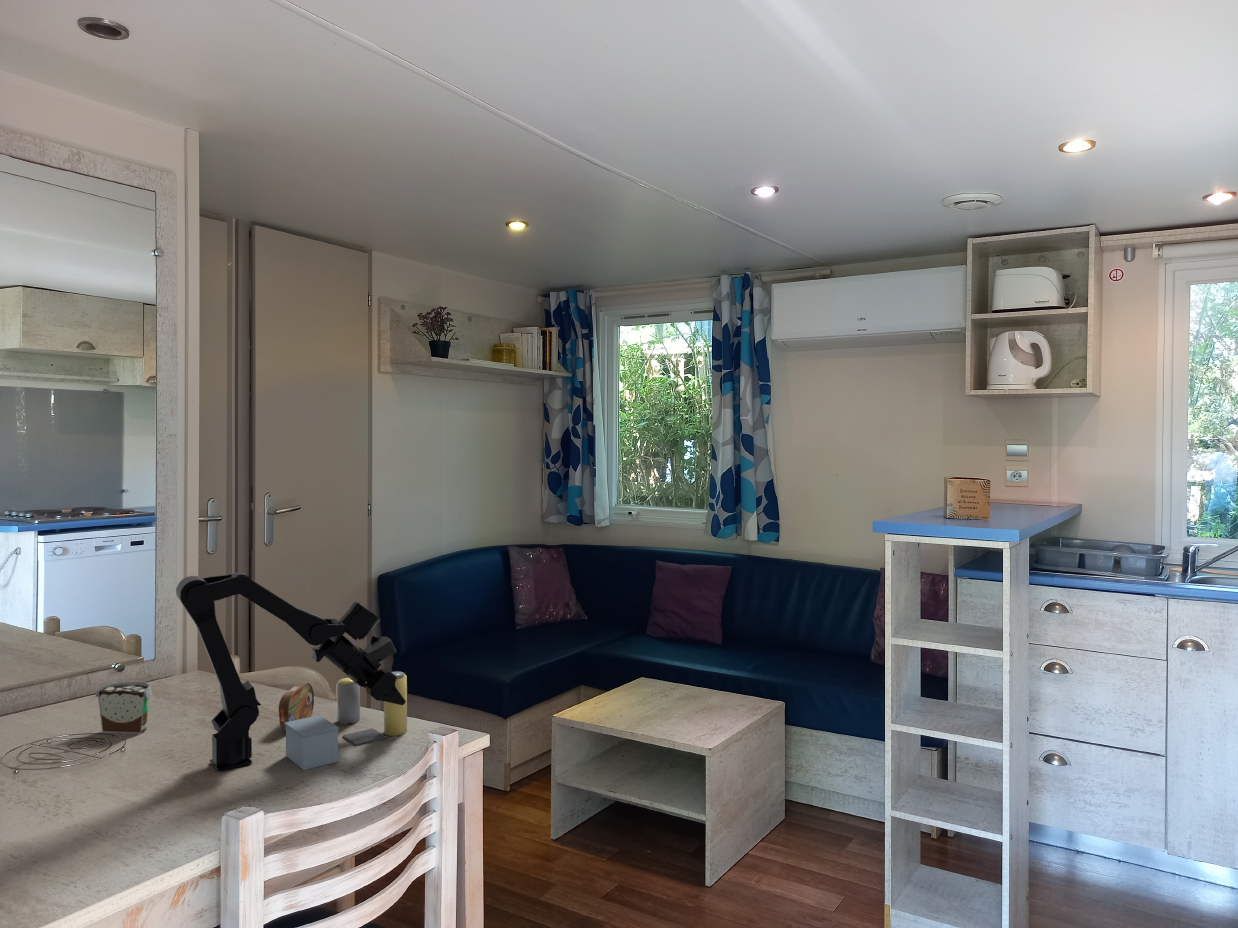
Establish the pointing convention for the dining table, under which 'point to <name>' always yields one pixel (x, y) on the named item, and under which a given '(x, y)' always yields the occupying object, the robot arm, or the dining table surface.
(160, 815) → the dining table surface
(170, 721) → the dining table surface
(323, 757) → the block
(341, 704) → the cylinder
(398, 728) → the cylinder
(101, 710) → the food container
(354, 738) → the pad
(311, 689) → the tin
